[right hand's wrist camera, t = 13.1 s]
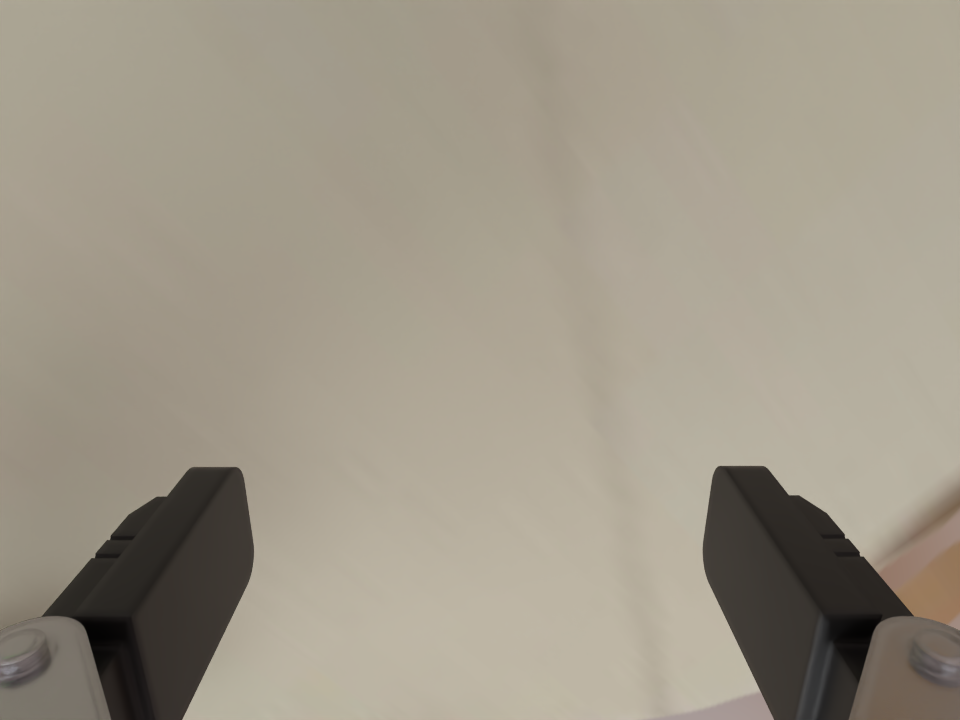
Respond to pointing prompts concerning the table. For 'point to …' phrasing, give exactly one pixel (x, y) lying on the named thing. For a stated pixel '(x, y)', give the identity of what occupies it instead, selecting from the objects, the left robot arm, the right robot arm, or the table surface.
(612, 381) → the table surface
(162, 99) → the table surface
